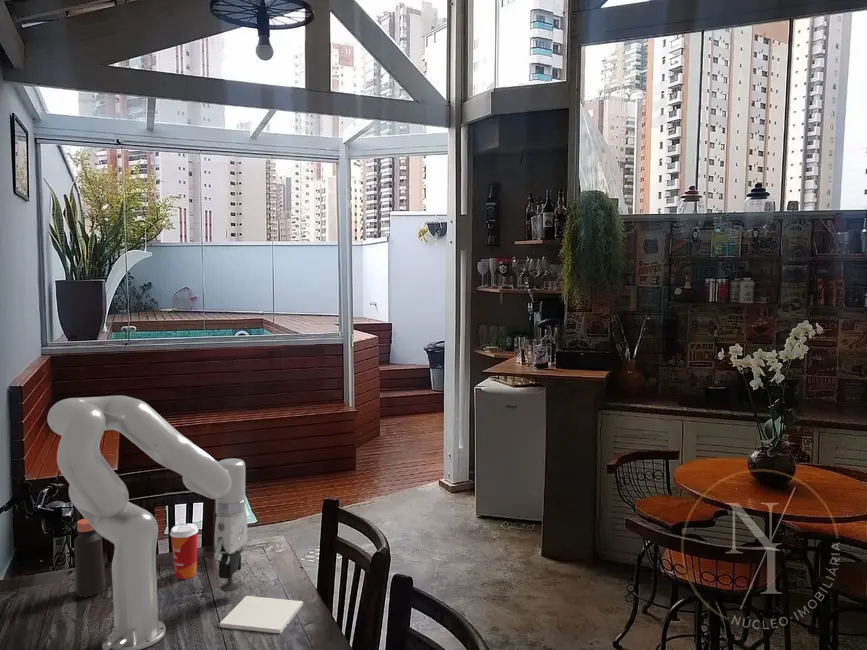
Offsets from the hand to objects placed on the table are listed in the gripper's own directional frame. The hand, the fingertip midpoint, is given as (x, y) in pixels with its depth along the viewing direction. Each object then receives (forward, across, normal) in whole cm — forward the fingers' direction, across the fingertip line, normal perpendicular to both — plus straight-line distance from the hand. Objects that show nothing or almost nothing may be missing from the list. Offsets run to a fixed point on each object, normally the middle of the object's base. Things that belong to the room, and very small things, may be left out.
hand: (230, 572), depth 177 cm
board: (+7, -7, -13) cm, 16 cm away
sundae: (+4, 0, 0) cm, 4 cm away
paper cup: (+7, +10, +19) cm, 23 cm away
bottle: (+8, -4, +39) cm, 40 cm away
